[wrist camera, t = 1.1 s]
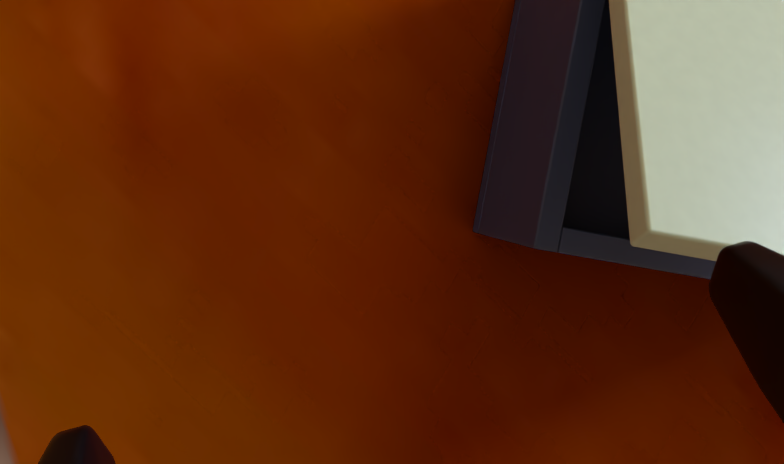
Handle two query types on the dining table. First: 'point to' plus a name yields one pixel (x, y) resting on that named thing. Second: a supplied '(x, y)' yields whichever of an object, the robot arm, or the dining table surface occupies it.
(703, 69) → the lunchbox lid
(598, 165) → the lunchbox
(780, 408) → the robot arm
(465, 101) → the dining table surface
